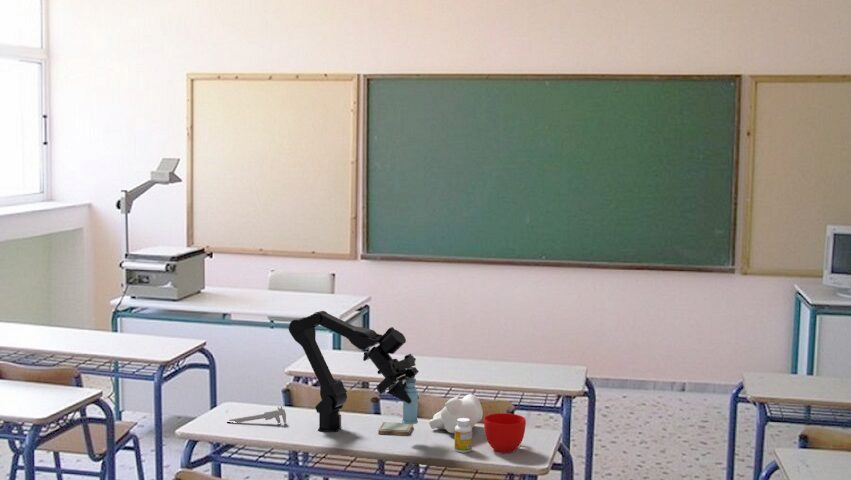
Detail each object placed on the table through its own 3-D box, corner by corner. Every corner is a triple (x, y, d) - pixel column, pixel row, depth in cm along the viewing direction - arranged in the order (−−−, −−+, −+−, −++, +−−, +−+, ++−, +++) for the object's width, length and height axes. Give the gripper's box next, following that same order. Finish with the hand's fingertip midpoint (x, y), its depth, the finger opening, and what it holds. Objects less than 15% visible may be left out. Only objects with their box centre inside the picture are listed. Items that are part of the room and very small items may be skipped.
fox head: (430, 400, 346) (416, 411, 326) (475, 386, 342) (463, 396, 322) (443, 437, 345) (429, 450, 325) (488, 423, 341) (477, 436, 322)
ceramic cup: (530, 442, 322) (531, 412, 321) (521, 458, 306) (521, 426, 305) (490, 439, 326) (491, 408, 325) (479, 454, 310) (479, 422, 309)
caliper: (286, 424, 342) (286, 405, 341) (285, 425, 340) (285, 406, 340) (226, 423, 342) (226, 405, 341) (225, 424, 341) (225, 405, 340)
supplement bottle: (453, 447, 316) (453, 417, 315) (470, 447, 316) (470, 417, 316) (455, 452, 311) (455, 422, 310) (472, 452, 311) (473, 421, 310)
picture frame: (378, 433, 330) (378, 429, 330) (383, 425, 340) (383, 421, 340) (408, 435, 329) (408, 431, 329) (412, 426, 339) (412, 422, 339)
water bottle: (401, 424, 319) (402, 380, 317) (402, 419, 324) (403, 377, 322) (417, 424, 318) (417, 381, 317) (418, 420, 323) (419, 377, 322)
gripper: (386, 352, 312) (417, 392, 308) (413, 342, 329) (443, 379, 325) (363, 374, 316) (394, 413, 313) (392, 363, 333) (421, 400, 329)
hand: (414, 401), depth 320 cm, fingers closed on water bottle, 5 cm apart
